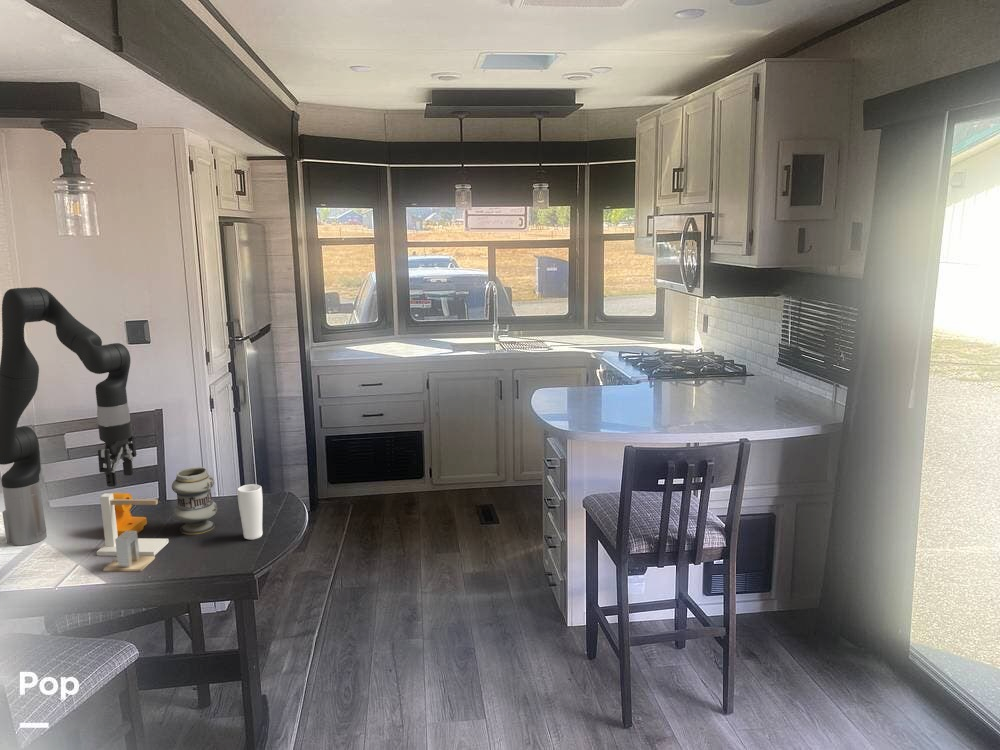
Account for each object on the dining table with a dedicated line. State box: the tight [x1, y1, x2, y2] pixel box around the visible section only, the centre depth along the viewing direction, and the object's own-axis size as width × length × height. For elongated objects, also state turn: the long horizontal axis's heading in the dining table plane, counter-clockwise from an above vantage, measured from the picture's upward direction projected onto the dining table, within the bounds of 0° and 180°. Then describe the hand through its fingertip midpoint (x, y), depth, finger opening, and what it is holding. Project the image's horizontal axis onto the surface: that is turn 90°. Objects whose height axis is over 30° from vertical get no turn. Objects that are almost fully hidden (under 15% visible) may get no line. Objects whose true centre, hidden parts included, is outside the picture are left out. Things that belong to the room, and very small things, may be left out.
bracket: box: [110, 492, 148, 537], centre depth 228 cm, size 11×7×12 cm, turn 174°
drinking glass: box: [237, 483, 264, 540], centre depth 224 cm, size 7×7×15 cm
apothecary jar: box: [171, 466, 218, 536], centre depth 230 cm, size 12×12×18 cm
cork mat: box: [103, 555, 156, 572], centre depth 208 cm, size 10×8×1 cm
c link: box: [115, 531, 140, 568], centre depth 207 cm, size 3×6×8 cm, turn 178°
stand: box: [96, 493, 170, 557], centre depth 216 cm, size 16×9×16 cm, turn 88°
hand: (120, 480), depth 203 cm, fingers open, 8 cm apart
